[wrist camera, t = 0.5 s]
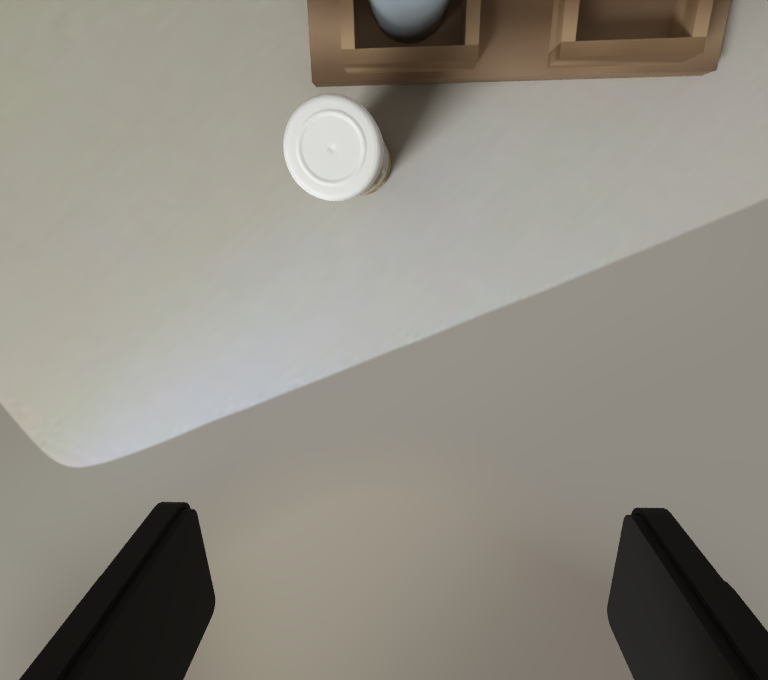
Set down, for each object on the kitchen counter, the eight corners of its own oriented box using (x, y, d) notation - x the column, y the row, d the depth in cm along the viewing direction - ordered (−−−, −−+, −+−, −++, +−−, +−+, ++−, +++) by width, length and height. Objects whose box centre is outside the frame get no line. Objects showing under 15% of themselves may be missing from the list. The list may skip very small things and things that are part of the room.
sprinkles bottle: (336, 199, 33) (291, 207, 21) (325, 133, 32) (271, 99, 19) (396, 190, 33) (387, 194, 20) (388, 124, 32) (374, 83, 19)
